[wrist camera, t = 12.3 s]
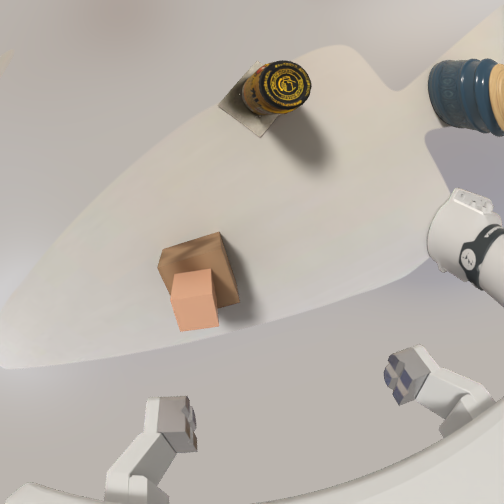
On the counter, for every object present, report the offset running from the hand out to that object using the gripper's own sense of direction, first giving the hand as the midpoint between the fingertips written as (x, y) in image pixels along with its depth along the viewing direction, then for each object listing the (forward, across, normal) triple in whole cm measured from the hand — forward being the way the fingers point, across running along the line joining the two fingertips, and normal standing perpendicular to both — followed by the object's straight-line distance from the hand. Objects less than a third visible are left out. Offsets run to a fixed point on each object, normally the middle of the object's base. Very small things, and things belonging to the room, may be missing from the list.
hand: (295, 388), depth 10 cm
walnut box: (+33, +6, +12) cm, 36 cm away
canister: (+33, -41, -16) cm, 55 cm away
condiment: (+33, -5, -12) cm, 36 cm away
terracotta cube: (+27, +6, +12) cm, 30 cm away
